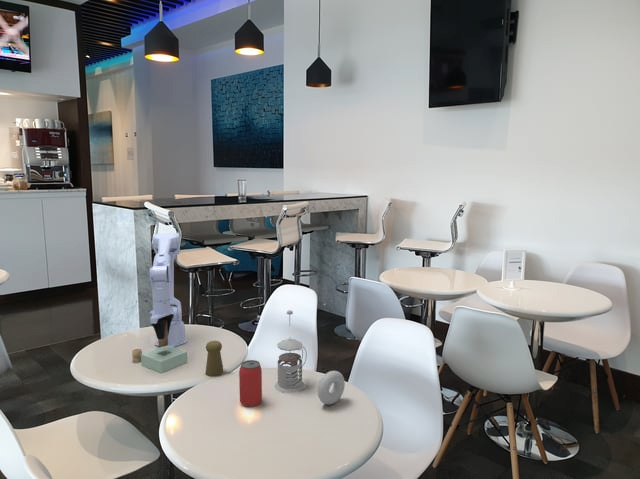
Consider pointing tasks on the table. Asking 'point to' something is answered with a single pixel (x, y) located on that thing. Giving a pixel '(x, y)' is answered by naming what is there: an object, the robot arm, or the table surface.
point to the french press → (285, 380)
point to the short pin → (136, 355)
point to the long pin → (164, 341)
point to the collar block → (164, 358)
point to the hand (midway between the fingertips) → (163, 337)
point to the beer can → (250, 383)
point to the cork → (214, 359)
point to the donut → (326, 384)
